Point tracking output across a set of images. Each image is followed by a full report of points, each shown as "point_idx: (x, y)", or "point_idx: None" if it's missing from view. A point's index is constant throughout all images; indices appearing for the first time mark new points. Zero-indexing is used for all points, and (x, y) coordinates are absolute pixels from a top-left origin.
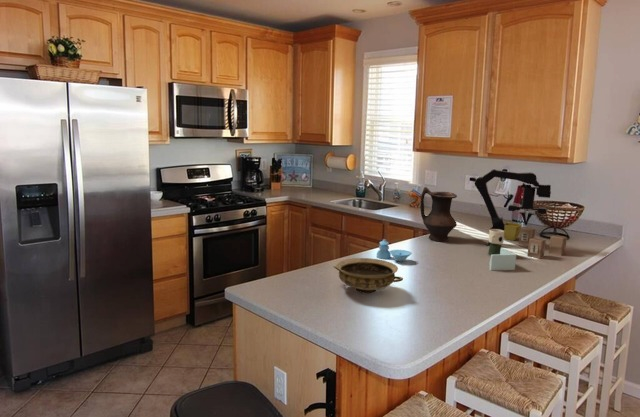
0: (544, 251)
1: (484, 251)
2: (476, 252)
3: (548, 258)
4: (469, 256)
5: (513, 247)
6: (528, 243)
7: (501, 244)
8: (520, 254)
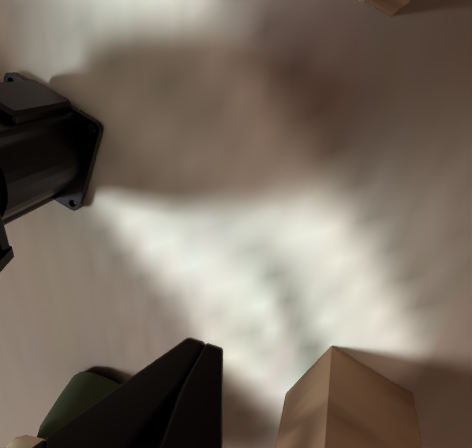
0: (419, 434)
1: (46, 327)
2: (21, 351)
3: (435, 426)
4: (20, 413)
5: (203, 160)
6: (377, 4)
7: (97, 127)
8: (245, 357)
